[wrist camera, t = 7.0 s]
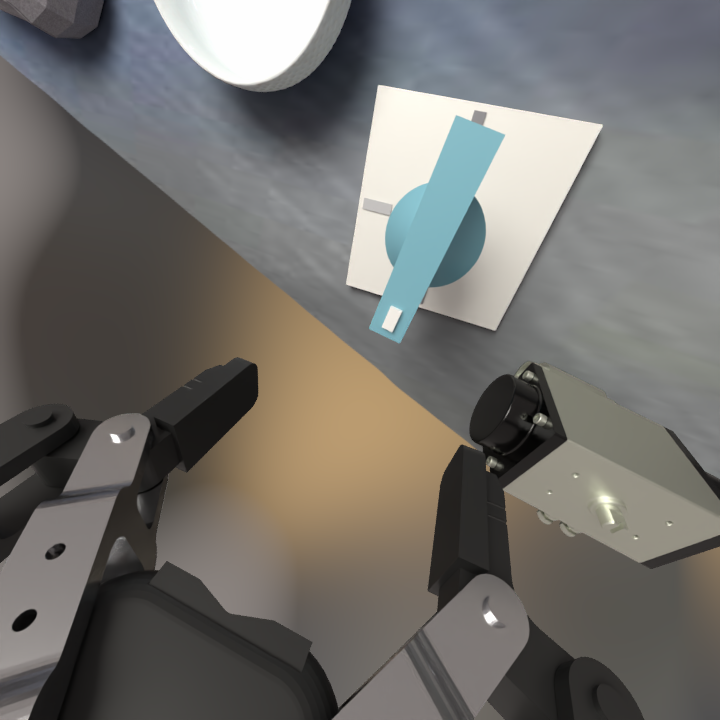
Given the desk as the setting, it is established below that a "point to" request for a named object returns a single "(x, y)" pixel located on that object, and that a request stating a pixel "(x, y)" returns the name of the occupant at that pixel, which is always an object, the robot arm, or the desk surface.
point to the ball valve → (596, 466)
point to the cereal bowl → (256, 37)
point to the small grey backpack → (57, 15)
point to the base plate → (495, 194)
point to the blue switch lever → (436, 227)
